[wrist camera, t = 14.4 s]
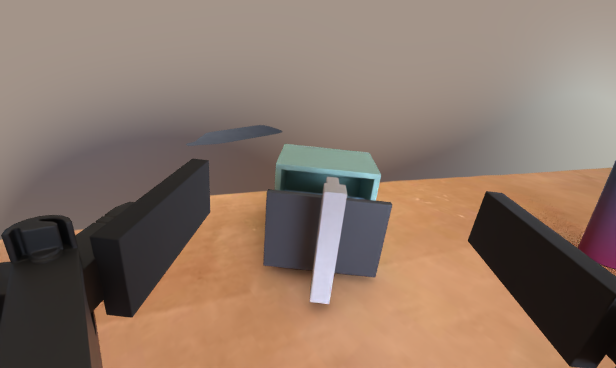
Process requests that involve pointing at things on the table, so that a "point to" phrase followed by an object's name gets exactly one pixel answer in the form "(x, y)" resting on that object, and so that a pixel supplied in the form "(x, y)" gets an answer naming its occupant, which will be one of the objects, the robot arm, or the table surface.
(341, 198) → the dark grey drawer
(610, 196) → the cup
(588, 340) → the robot arm
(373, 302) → the table surface
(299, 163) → the box
